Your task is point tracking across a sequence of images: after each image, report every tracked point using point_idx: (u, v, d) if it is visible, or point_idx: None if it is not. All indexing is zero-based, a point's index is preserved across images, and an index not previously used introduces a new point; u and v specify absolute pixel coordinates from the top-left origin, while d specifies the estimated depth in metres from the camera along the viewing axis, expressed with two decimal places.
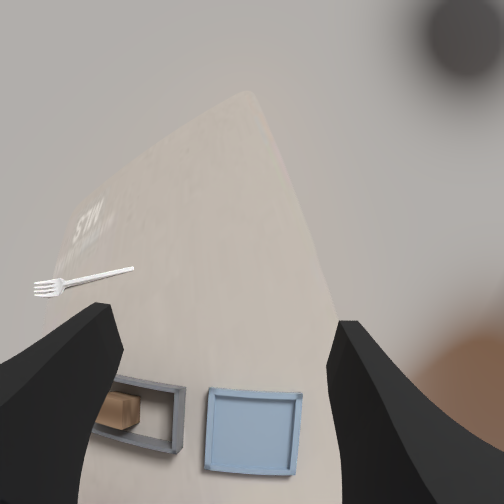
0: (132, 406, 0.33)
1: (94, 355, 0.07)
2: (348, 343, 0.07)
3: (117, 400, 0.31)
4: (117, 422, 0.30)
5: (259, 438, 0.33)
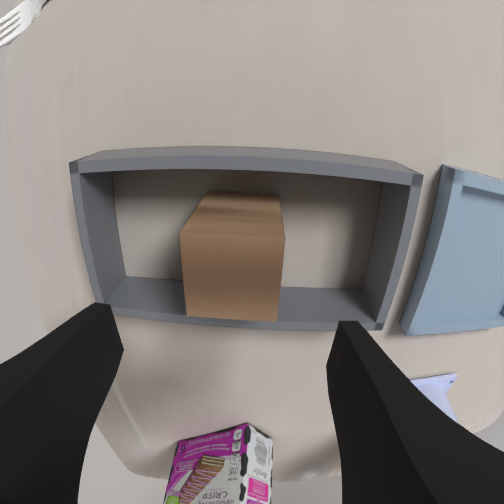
0: None
1: (94, 355, 0.07)
2: (348, 343, 0.07)
3: (264, 239, 0.11)
4: (263, 304, 0.13)
5: (490, 269, 0.17)
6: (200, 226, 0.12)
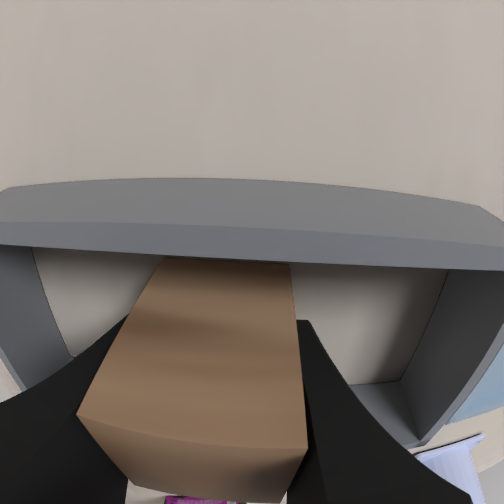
0: None
1: None
2: None
3: (259, 448, 0.04)
4: (258, 495, 0.05)
5: None
6: (120, 393, 0.05)
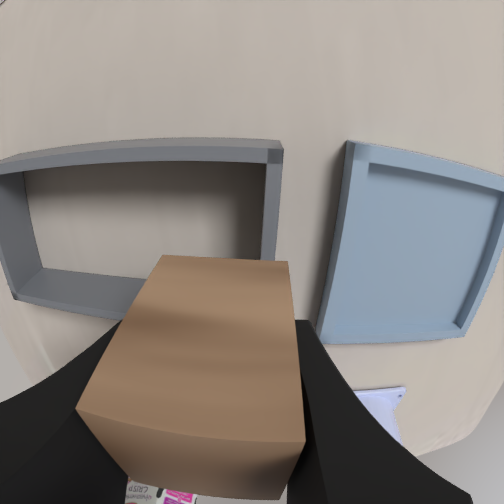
0: None
1: None
2: None
3: (257, 442, 0.04)
4: (257, 491, 0.05)
5: (432, 269, 0.16)
6: (119, 387, 0.05)
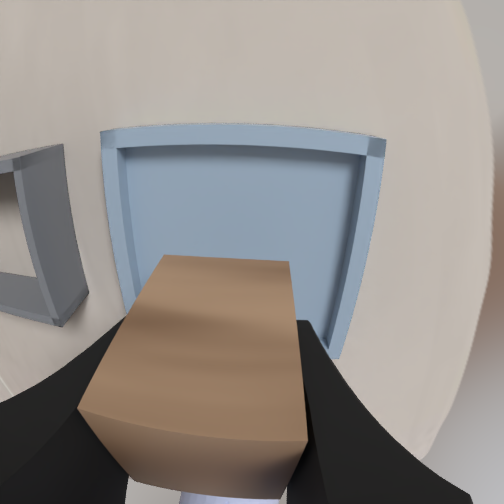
0: None
1: None
2: None
3: (259, 441, 0.04)
4: (258, 491, 0.05)
5: None
6: (121, 387, 0.05)
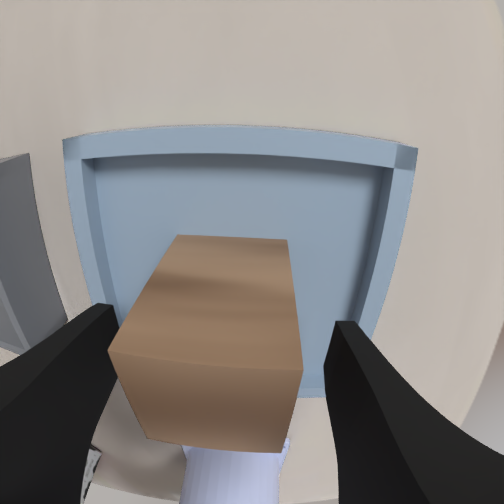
0: None
1: (97, 356, 0.07)
2: (344, 343, 0.07)
3: (264, 370, 0.05)
4: (261, 440, 0.07)
5: None
6: (146, 332, 0.06)
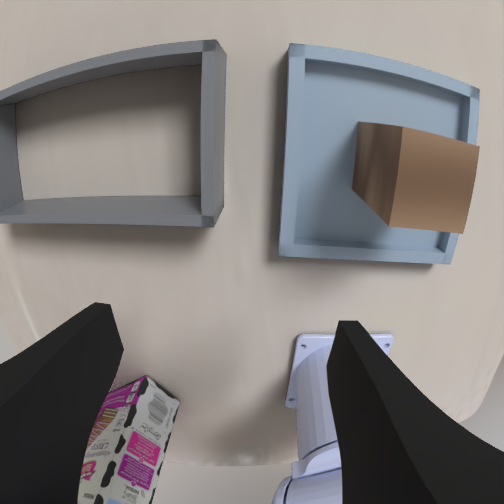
0: None
1: (94, 355, 0.07)
2: (348, 343, 0.07)
3: (466, 145, 0.09)
4: (457, 213, 0.10)
5: None
6: None
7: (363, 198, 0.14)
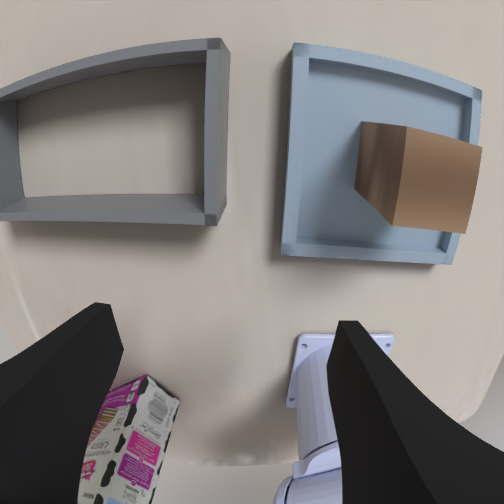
0: None
1: (94, 355, 0.07)
2: (348, 343, 0.07)
3: (469, 145, 0.09)
4: (460, 213, 0.10)
5: None
6: None
7: (366, 198, 0.14)
